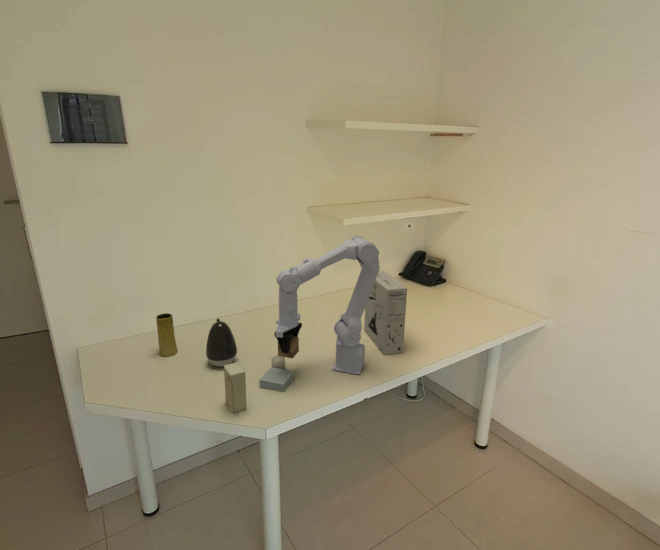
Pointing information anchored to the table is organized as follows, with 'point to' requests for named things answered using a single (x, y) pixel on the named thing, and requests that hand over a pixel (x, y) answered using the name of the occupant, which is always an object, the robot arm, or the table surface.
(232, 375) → the skincare box
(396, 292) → the product box
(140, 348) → the table surface
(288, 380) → the slate plinth
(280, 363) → the grey rounded lump
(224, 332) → the black egg shape
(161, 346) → the vase
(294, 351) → the walnut cube
